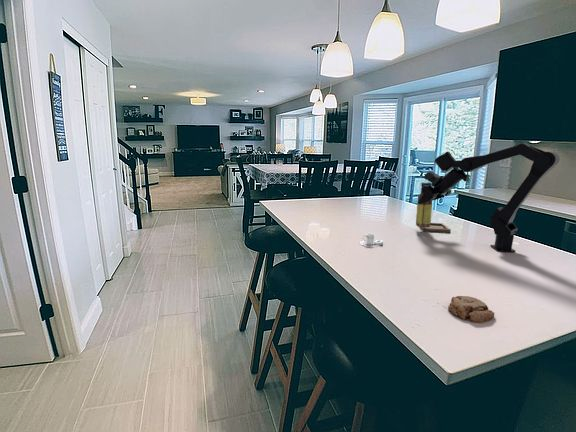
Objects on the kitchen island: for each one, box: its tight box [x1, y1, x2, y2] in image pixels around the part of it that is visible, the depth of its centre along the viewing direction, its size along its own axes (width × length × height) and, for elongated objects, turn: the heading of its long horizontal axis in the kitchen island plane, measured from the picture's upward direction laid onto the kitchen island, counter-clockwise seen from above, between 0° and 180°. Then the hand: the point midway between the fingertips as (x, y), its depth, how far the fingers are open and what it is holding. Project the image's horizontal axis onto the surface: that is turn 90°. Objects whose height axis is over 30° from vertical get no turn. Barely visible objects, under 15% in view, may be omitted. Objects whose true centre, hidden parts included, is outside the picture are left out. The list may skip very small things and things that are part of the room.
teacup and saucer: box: [359, 233, 384, 248], centre depth 134 cm, size 9×8×4 cm
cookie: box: [447, 295, 495, 323], centre depth 82 cm, size 10×11×3 cm
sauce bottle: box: [415, 181, 433, 228], centre depth 152 cm, size 7×6×20 cm
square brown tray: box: [418, 222, 451, 234], centre depth 160 cm, size 12×12×2 cm
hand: (422, 202), depth 152 cm, fingers closed on sauce bottle, 6 cm apart
